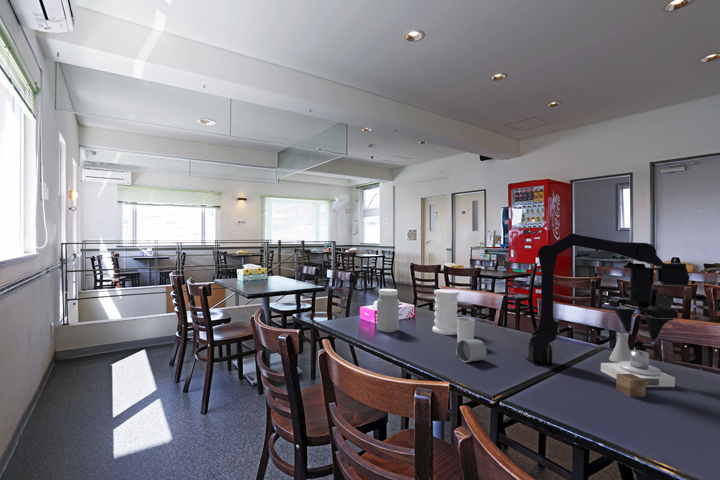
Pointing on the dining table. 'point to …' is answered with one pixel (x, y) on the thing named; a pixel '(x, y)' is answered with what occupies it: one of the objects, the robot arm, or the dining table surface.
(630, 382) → the walnut block
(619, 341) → the flask
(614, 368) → the kitchen scale
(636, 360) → the steel weight with knob
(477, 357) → the ceramic mug
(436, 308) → the decorative container
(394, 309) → the jar
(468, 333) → the drinking glass
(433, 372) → the dining table surface
